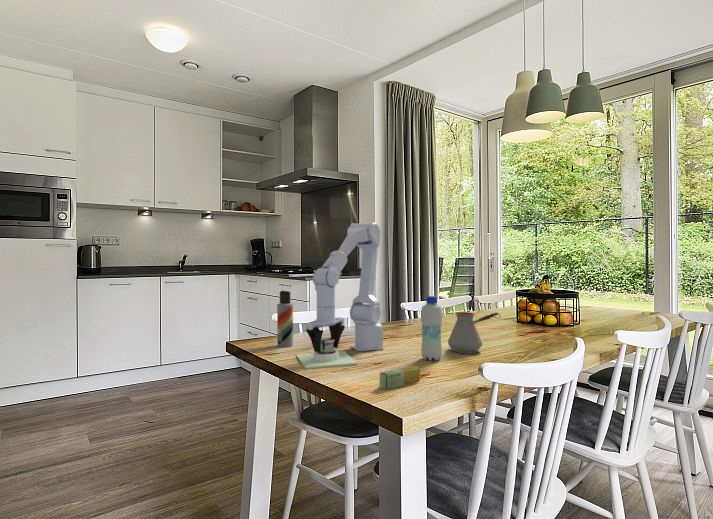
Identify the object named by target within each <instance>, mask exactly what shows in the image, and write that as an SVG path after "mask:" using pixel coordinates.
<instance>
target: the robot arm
mask: <svg viewBox="0 0 713 519" xmlns="http://www.w3.org/2000/svg"><path fill="white" fill-rule="evenodd" d="M346 234H347V235H346V237H345V239H344V240H343V242H342V243H341V245H340V246H339V248H338V250H334V251H331V253H329V257H328V258H327V259H326V260H325V262H324V263H323V265H322V266H321V267H319V268H316V270H314V273H313V276H312V277H311V278H312V282H313V284H314V290H315V291H316V319H315V320H312V321H309V322H306V324H305V325H306V328H305V330H306V333H307V334H308V336H309V338H310V341H311V345H312V348H313V352H320V349H321V338H323V334H324V330H322V329H320V328H325V327H328V330H329V333H330V337H331V338H335V342H334V349H338V346H339V342H340V341H341V340H340V339H341V337H342V334H343V332H344V330H345V325H344V324H345V318H344V317H339V316H338V317H336V286H337V285H338V284H339V281H340V277H341V272H342V270H343V269H344V268H345V266H346V264H347V263H348V257H349V254H350V253H351V252H352V251H353V250H354V249H355V247H356V246H357V247H358V248H360V249H361V251H362V258H361V266H360V267H361V268H360V279H359V287H358V289H359V290H358V295H357V296H355V297H354V298H353V299H352V304H351V306H350V309H349V317H350V320H352V322H353V324H354V344H352V345H351V347H352V349H354V350H356V352H364V351H365V352H367V351H376V350H377V351H379V350H384V349H385V348H384V346H383V345H384V340H383V339H384V336H383V334H384V332H383V331H384V330H383V326H382V324H381V323H380V322H379V320H380V318H381V307H380V306H381V302H380V301H379V300H378V299H377V298H376V297H375V288H376V287H375V285H376V276H377V275H376V274H377V264H378V256H379V255H378V254H379V253H378V252H379V247H380V243H381V242H380V241H381V229H380V226H379V225H378V223H377V222H374V221H371V222H362V223H356V222H353V223H351V224H350V225H349V227H348V228H347V232H346Z"/></svg>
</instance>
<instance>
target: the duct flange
mask: <svg viewBox="0 0 713 519" xmlns="http://www.w3.org/2000/svg"><path fill="white" fill-rule="evenodd" d="M295 355H296V358H297V360H298V361H299V362H300V363H301V365H302V366H303V368H304V369H305V370H311V369H313V370H314V369H321V368H334V367H336V368H337V367H342V366H343V367H346V366H357V365H359V361H357V360H355V358H353V357H352V356H350V355H349V353H347V352H346V351H344V350H343V351H341V350H340V351H339V350H337V349H336V350H335V349H334V353H333V354H320V352H315V351H313V352H312V353H302V354H295Z"/></svg>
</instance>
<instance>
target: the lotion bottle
mask: <svg viewBox="0 0 713 519" xmlns="http://www.w3.org/2000/svg"><path fill="white" fill-rule="evenodd" d="M276 308H277V309H276V319H277V322H276V323H277V326H276V327H277V328H276V330H277V331H276V332H277V339H276V340H277V341H276V342H277V346H278V347H281V348H287V347H288V348H289V347H292V346H293V345H294V304H293V303H291V291H288V290H287V291H286V290H280V291H279V303H277V305H276Z"/></svg>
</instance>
